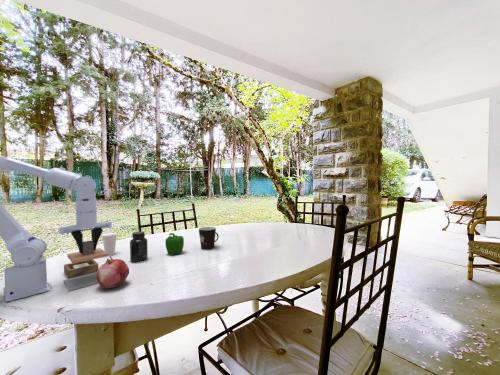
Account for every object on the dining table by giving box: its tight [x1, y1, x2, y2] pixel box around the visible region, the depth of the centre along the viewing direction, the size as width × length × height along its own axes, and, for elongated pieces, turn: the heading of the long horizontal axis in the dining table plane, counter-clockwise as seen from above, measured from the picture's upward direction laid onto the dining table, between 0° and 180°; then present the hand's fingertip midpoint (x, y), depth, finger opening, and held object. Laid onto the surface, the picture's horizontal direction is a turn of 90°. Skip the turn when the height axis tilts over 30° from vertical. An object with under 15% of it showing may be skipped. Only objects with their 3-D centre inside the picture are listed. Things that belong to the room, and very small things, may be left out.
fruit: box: [96, 255, 130, 289], centre depth 74 cm, size 9×10×10 cm
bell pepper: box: [164, 232, 185, 256], centre depth 108 cm, size 8×8×10 cm
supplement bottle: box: [129, 231, 149, 264], centre depth 99 cm, size 7×7×12 cm
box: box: [63, 259, 100, 279], centre depth 86 cm, size 9×9×3 cm
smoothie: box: [101, 227, 118, 257], centre depth 108 cm, size 6×6×14 cm
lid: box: [66, 240, 108, 264], centre depth 79 cm, size 10×10×5 cm
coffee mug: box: [198, 226, 220, 251], centre depth 115 cm, size 12×9×10 cm
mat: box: [63, 272, 99, 292], centre depth 79 cm, size 12×11×1 cm
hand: (87, 251), depth 78 cm, fingers closed on lid, 3 cm apart
